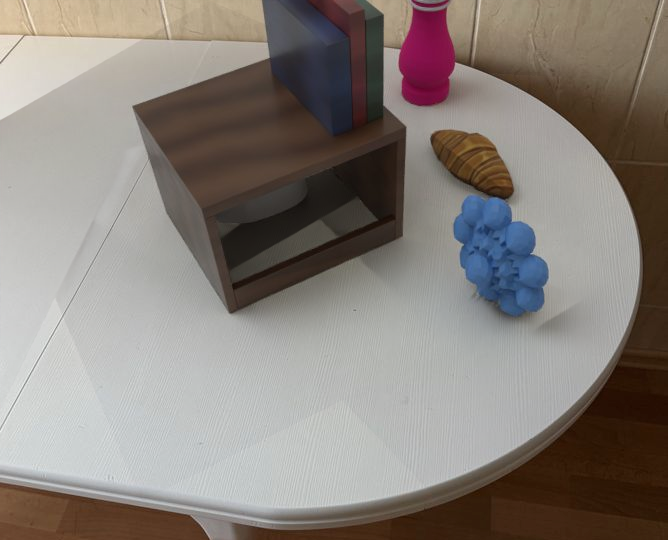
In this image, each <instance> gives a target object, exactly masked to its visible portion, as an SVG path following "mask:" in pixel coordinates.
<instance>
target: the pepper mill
mask: <svg viewBox="0 0 668 540" xmlns="http://www.w3.org/2000/svg"><path fill="white" fill-rule="evenodd" d="M408 3H409V5H410V6H411V8H412V16H411V23H410V26H409V30H408V31H407V33H406V37H405V39H404V40H403V43H402V45H401V47H400V50H399V54H398V63H397V64H398V70H399V72H400V74H401V75H402V78H401V95H402V97H403V98H404V99H405V101H407V102H408V103H410V104H413V105H416V106H421V107H423V106H425V107H426V106H427V107H428V106H429V107H430V106H434V105H437V104H439V103H442V102H444V101H445V99H447V98H448V96H449V93H450V84H451V80H450V76H451V75H452V74H453V72H454V70H455V67H456V52H455V46H454V44H453V43H454V42H453V41H452V38H451V35H450V32H449V28H448V22H447V21H448V20H447V19H448V18H447V16H448V15H447V13H448V7H449V6H450V5H451V3H452V0H408Z"/></svg>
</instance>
